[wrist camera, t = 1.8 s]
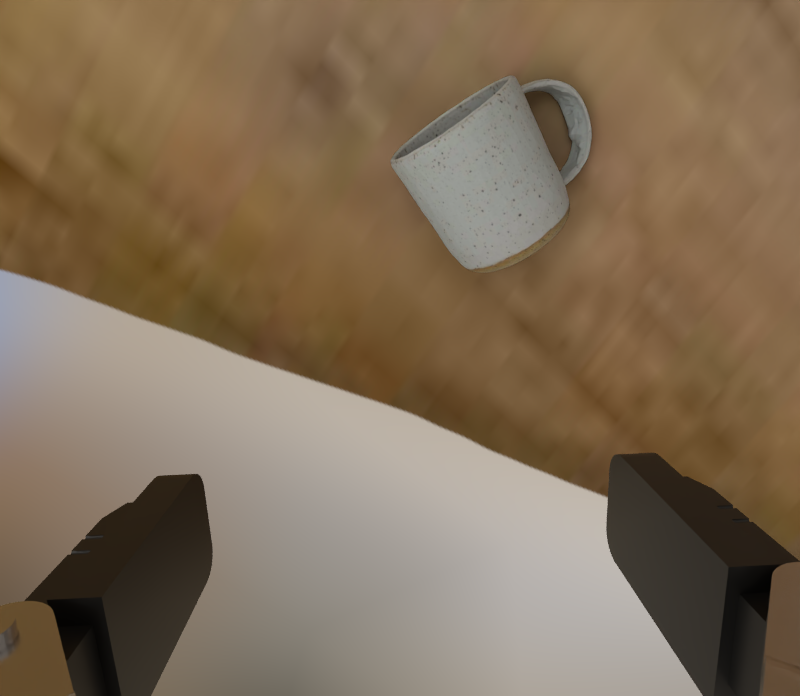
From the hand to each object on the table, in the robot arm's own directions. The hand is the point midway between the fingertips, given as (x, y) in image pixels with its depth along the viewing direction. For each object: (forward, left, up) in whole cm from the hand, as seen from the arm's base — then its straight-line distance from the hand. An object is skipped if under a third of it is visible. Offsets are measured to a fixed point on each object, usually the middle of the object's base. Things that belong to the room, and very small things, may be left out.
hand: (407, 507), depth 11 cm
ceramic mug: (-5, +4, -27) cm, 27 cm away
